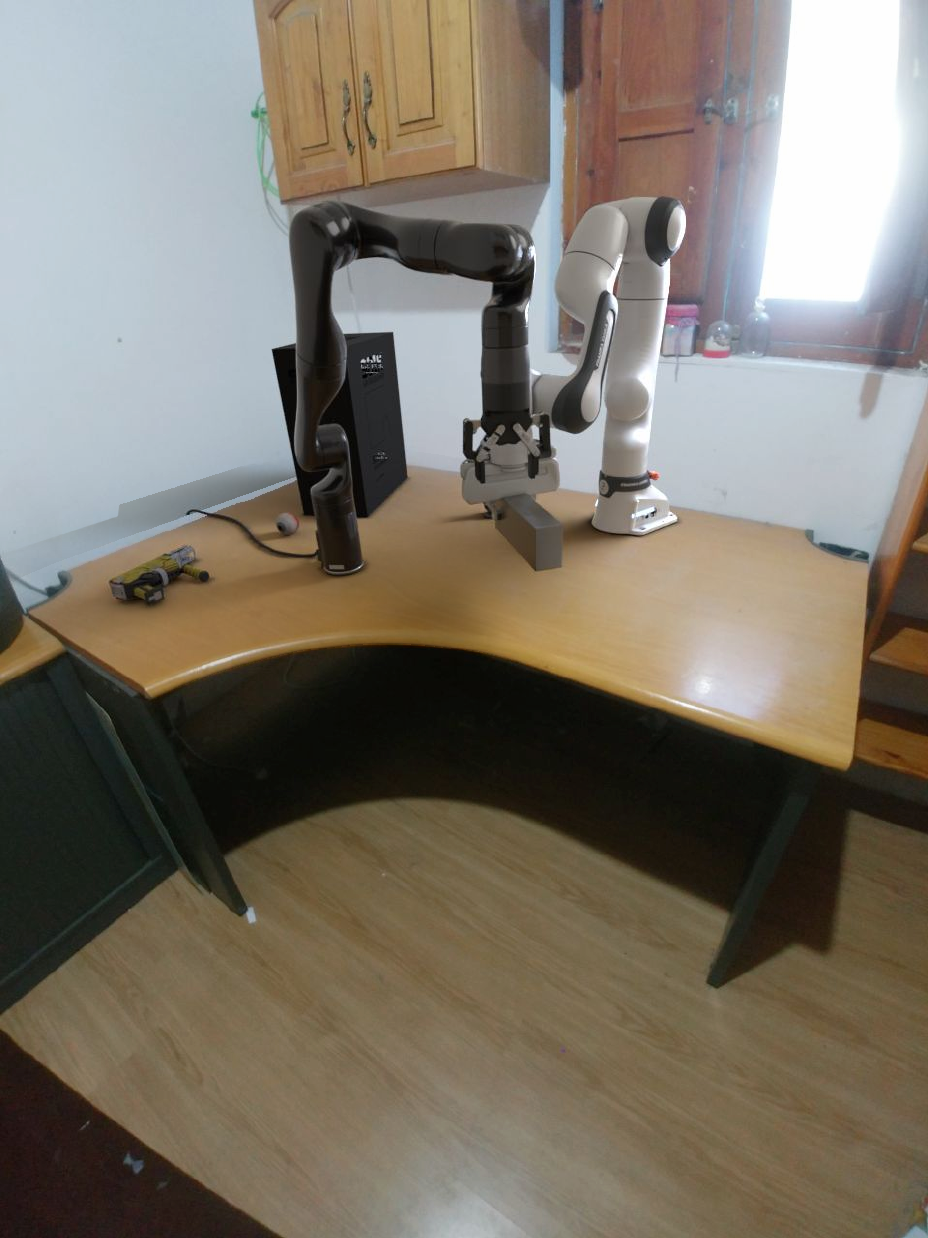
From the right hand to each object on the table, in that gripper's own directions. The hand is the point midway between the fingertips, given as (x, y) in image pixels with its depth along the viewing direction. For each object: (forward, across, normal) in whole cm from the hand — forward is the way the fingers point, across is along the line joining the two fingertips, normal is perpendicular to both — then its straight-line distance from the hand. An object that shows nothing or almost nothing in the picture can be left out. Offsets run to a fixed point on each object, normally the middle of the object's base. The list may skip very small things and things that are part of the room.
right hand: (511, 517), depth 125 cm
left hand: (-14, -7, -18) cm, 24 cm away
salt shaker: (+15, +10, +42) cm, 46 cm away
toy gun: (+14, -73, +30) cm, 81 cm away
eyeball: (+15, -46, +51) cm, 70 cm away
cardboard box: (+15, -23, +76) cm, 81 cm away
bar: (+3, 0, -8) cm, 9 cm away
